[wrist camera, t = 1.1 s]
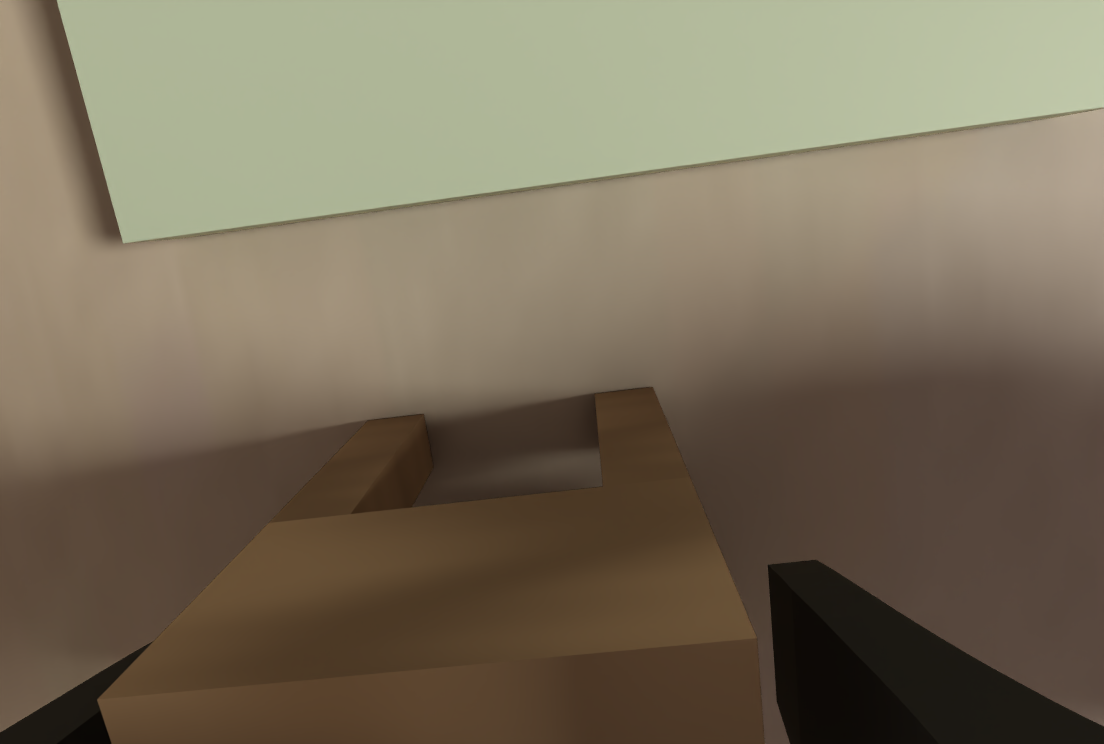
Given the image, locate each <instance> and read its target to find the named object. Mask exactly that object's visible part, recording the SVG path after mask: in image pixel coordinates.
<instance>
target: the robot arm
mask: <svg viewBox="0 0 1104 744" xmlns="http://www.w3.org/2000/svg"><path fill="white" fill-rule="evenodd" d="M768 574H769V589H770V604H771V620H772V635H773V650H774V665H775V681H776V696H777V703H778V706H779V710H780V713H781V716H782V719H783V722H784V725H785V729H786V732H787V735H788V738H789V741H790V744H1104V726H1101V725H1099V724H1097V723H1095V722H1093V721H1091V720H1089V719H1087V718H1085V717H1083V716H1081V715H1079V714H1077V713H1075V712H1073V711H1071V710H1069V709H1067V708H1065V707H1063V706H1061V705H1059V704H1057V703H1055V702H1053V701H1052V700H1050V699H1048V698H1046V697H1044V696H1042V695H1040V694H1039V693H1037V692H1035V691H1033V690H1031V689H1029V688H1028V687H1026V686H1024V685H1022V684H1020V683H1018V682H1017V681H1015V680H1013V679H1011V678H1009V677H1007V676H1006V675H1004V674H1002V673H1000V672H998V671H997V670H995V669H993V668H991V667H989V666H987V665H986V664H984V663H982V662H981V661H979V660H977V659H975V658H974V657H972V656H970V655H968V654H967V653H965V652H963V651H962V650H960V649H958V648H956V647H955V646H953V645H951V644H950V643H948V642H946V641H945V640H943V639H941V638H940V637H938V636H936V635H935V634H933V633H932V632H930V631H928V630H927V629H925V628H923V627H922V626H920V625H919V624H917V623H915V622H914V621H912V620H911V619H909V618H907V617H906V616H904V615H903V614H901V613H899V612H898V611H896V610H895V609H893V608H892V607H890V606H888V605H887V604H885V603H884V602H882V601H881V600H879V599H878V598H876V597H874V596H873V595H871V594H870V593H868V592H867V591H865V590H864V589H862V588H861V587H859V586H857V585H856V584H854V583H853V582H851V581H850V580H848V579H847V578H845V577H843V576H842V575H840V574H839V573H837V572H836V571H834V570H832V569H831V568H829V567H827V566H826V565H824V564H822V563H821V562H819V561H817V560H811V561H801V562H791V563H782V564H772V565H768ZM153 642H154V641H153ZM153 642H151V643H149V644H148V645H146V646H144V647H142V648H140V649H139V650H137V651H135V652H134V653H132V654H130V655H128V656H127V657H125V658H123V659H122V660H120V661H118V662H116V663H115V664H113V665H111V666H110V667H108V668H106V669H105V670H103V671H101V672H100V673H98V674H96V675H95V676H93V677H91V678H90V679H88V680H87V681H85V682H83V683H82V684H80V685H78V686H77V687H75V688H73V689H72V690H70V691H68V692H67V693H65V694H63V695H62V696H60V697H58V698H57V699H55V700H54V701H52V702H50V703H49V704H47V705H45V706H44V707H42V708H40V709H39V710H37V711H35V712H34V713H32V714H30V715H29V716H27V717H25V718H24V719H22V720H21V721H19V722H17V723H16V724H14V725H12V726H11V727H9V728H7V729H6V730H4V731H2V732H0V744H112V743H111V740H110V737H109V734H108V731H107V728H106V725H105V722H104V719H103V716H102V713H101V710H100V707H99V704H98V701H97V699H98V698H99V697H100V696H101V695H102V694H103V693H104V692H105V691H106V690H107V689H108V688H109V687H110V686H111V685H112V684H113V683H114V682H115V681H116V680H117V679H118V678H119V677H120V675H121V674H122V673H123V672H124V671H125V670H126V669H127V668H128V667H129V666H130V665H131V664H132V663H133V662H134V661H135V660H136V659H137V658H138V657H139V656H140V655H141V654H142V653H143V652H144V651H145V650H146V649H147V648H148V647H149V646H150V645H151V644H152V643H153Z"/></svg>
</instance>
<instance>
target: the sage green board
mask: <svg viewBox="0 0 1104 744" xmlns="http://www.w3.org/2000/svg"><path fill="white" fill-rule="evenodd" d="M57 3H58V7H59V10H60V14H61V18H62V21H63V25H64V29H65V32H66V36H67V40H68V43H69V47H70V51H71V54H72V58H73V62H74V65H75V69H76V73H77V76H78V80H79V84H80V87H81V91H82V95H83V98H84V102H85V106H86V109H87V113H88V117H89V120H90V124H91V127H92V131H93V135H94V138H95V142H96V146H97V149H98V153H99V157H100V160H101V164H102V168H103V171H104V175H105V179H106V182H107V186H108V190H109V193H110V197H111V201H112V204H113V208H114V212H115V215H116V219H117V223H118V226H119V230H120V234H121V237H122V241H123V243H133V242H145V241H157V240H169V239H181V238H188V237H195V236H203V235H210V234H217V233H224V232H231V231H239V230H246V229H253V228H260V227H267V226H275V225H282V224H289V223H296V222H304V221H311V220H318V219H325V218H332V217H340V216H347V215H354V214H361V213H369V212H376V211H383V210H390V209H397V208H405V207H412V206H419V205H426V204H434V203H441V202H448V201H455V200H462V199H470V198H477V197H484V196H491V195H499V194H506V193H513V192H520V191H527V190H535V189H542V188H549V187H556V186H564V185H571V184H578V183H585V182H592V181H600V180H607V179H614V178H621V177H628V176H636V175H643V174H650V173H657V172H665V171H672V170H679V169H686V168H693V167H701V166H708V165H715V164H722V163H730V162H737V161H744V160H751V159H758V158H766V157H773V156H780V155H787V154H795V153H802V152H809V151H816V150H823V149H831V148H838V147H845V146H852V145H860V144H867V143H874V142H881V141H888V140H896V139H903V138H910V137H917V136H925V135H932V134H939V133H946V132H953V131H961V130H968V129H975V128H982V127H990V126H997V125H1004V124H1011V123H1018V122H1026V121H1033V120H1040V119H1047V118H1054V117H1060V116H1066V115H1071V114H1076V113H1082V112H1087V111H1093V110H1098V109H1104V0H57Z"/></svg>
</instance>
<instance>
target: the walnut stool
mask: <svg viewBox="0 0 1104 744" xmlns="http://www.w3.org/2000/svg"><path fill="white" fill-rule="evenodd" d="M595 405H596V416H597V427H598V438H599V448H600V459H601V470H602V481H603V487H595V488H586V489H576V490H567V491H558V492H549V493H540V494H531V495H521V496H512V497H503V498H494V499H485V500H475V501H466V502H457V503H448V504H439V505H430V506H420V507H412V506H413V504H414V502H415V500H416V498H417V497H418V495H419V493H420V491H421V489H422V488H423V486H424V484H425V482H426V480H427V478H428V477H429V475H430V473H431V471H432V469H433V461H432V456H431V451H430V445H429V440H428V434H427V429H426V423H425V418H424V414H420V415H411V416H403V417H394V418H386V419H377V420H369V421H367V422H366V423H365V424H364V425H363V426H362V427H361V428H360V429H359V430H358V431H357V433H356V434H355V435H354V436H353V437H352V438H351V439H350V440H349V441H348V442H347V443H346V444H345V445H344V446H343V447H342V448H341V449H340V450H339V451H338V452H337V453H336V454H335V455H334V456H333V457H332V458H331V459H330V460H329V461H328V462H327V463H326V464H325V465H324V466H323V468H322V469H321V470H320V471H319V472H318V473H317V474H316V475H315V476H314V477H313V478H312V479H311V480H310V481H309V482H308V483H307V484H306V485H305V486H304V487H303V488H302V489H301V490H300V491H299V492H298V493H297V494H296V495H295V496H294V497H293V498H292V499H291V500H290V502H289V503H288V504H287V505H286V506H285V507H284V508H283V509H282V510H281V511H280V512H279V513H278V514H277V515H276V516H275V517H274V518H273V519H272V520H271V521H270V522H269V523H268V524H267V525H266V526H265V527H264V528H263V529H262V530H261V531H260V532H259V533H258V534H257V535H256V537H255V538H254V539H253V540H252V541H251V542H250V543H249V544H248V545H247V546H246V547H245V548H244V549H243V550H242V551H241V552H240V553H239V554H238V555H237V556H236V557H235V558H234V559H233V560H232V561H231V562H230V563H229V564H228V565H227V566H226V567H225V568H224V569H223V570H222V572H221V573H220V574H219V575H218V576H217V577H216V578H215V579H214V580H213V581H212V582H211V583H210V584H209V585H208V586H207V587H206V588H205V589H204V590H203V591H202V592H201V593H200V594H199V595H198V596H197V597H196V598H195V599H194V600H193V601H192V602H191V603H190V604H189V605H188V607H187V608H186V609H185V610H184V611H183V612H182V613H181V614H180V615H179V616H178V617H177V618H176V619H175V620H174V621H173V622H172V623H171V624H170V625H169V626H168V627H167V628H166V629H165V630H164V631H163V632H162V633H161V634H160V635H159V636H158V637H157V638H156V639H155V640H154V642H153V643H152V644H151V645H150V646H149V647H148V648H147V649H146V650H145V651H144V652H143V653H142V654H141V655H140V656H139V657H138V658H137V659H136V660H135V661H134V662H133V663H132V664H131V665H130V666H129V667H128V668H127V669H126V670H125V671H124V672H123V673H122V674H121V675H120V677H119V678H118V679H117V680H116V681H115V682H114V683H113V684H112V685H111V686H110V687H109V688H108V689H107V690H106V691H105V692H104V693H103V694H102V695H101V696H100V697H99V698H98V699H97V701H98V704H99V707H100V710H101V713H102V716H103V719H104V722H105V725H106V728H107V731H108V734H109V737H110V740H111V743H112V744H765V742H764V728H763V714H762V700H761V686H760V672H759V658H758V644H757V637H756V634H755V632H754V630H753V627H752V625H751V622H750V620H749V617H748V615H747V613H746V610H745V608H744V605H743V603H742V601H741V598H740V596H739V593H738V591H737V589H736V586H735V584H734V581H733V579H732V577H731V574H730V572H729V569H728V567H727V565H726V562H725V560H724V557H723V555H722V553H721V550H720V548H719V545H718V543H717V541H716V538H715V536H714V533H713V531H712V529H711V526H710V524H709V521H708V519H707V516H706V514H705V512H704V509H703V507H702V504H701V502H700V500H699V497H698V495H697V492H696V490H695V488H694V485H693V483H692V480H691V478H690V476H689V473H688V471H687V468H686V466H685V464H684V461H683V459H682V456H681V454H680V452H679V449H678V447H677V444H676V442H675V440H674V437H673V435H672V432H671V430H670V427H669V425H668V423H667V420H666V418H665V415H664V413H663V411H662V408H661V406H660V403H659V401H658V399H657V396H656V394H655V391H654V389H653V387H648V388H640V389H631V390H623V391H614V392H606V393H597V394H595Z"/></svg>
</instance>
